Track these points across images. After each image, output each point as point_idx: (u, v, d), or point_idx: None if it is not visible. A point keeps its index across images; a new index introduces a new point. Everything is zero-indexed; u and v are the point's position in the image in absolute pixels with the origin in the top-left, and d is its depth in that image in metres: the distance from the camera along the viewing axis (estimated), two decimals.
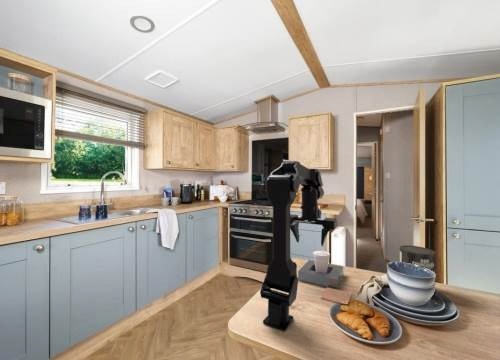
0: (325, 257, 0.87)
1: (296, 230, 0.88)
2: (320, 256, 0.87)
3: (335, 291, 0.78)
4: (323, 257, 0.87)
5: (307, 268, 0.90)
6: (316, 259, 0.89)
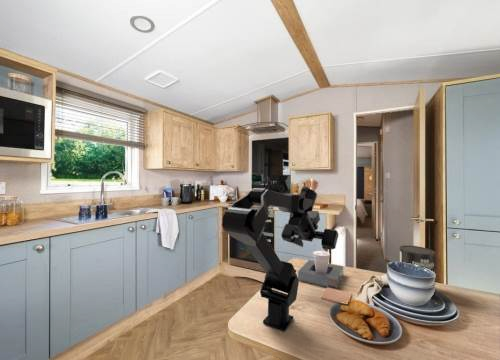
0: (325, 257, 0.87)
1: (297, 241, 0.83)
2: (320, 256, 0.87)
3: (335, 291, 0.78)
4: (323, 257, 0.87)
5: (307, 268, 0.90)
6: (316, 259, 0.89)
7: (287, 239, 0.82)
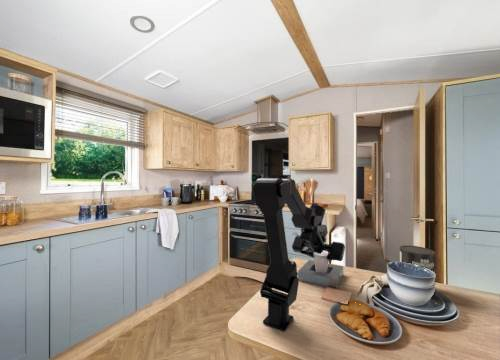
0: (325, 257, 0.87)
1: (309, 253, 0.90)
2: (320, 256, 0.87)
3: (335, 291, 0.78)
4: (323, 257, 0.87)
5: (307, 268, 0.90)
6: (316, 259, 0.89)
7: (297, 250, 0.89)
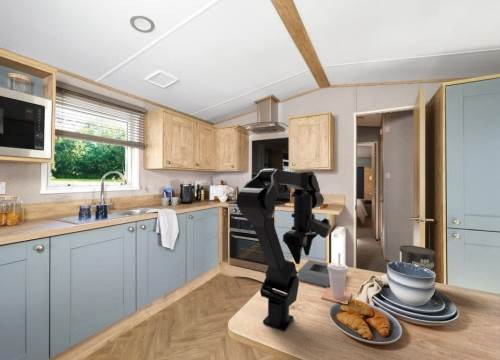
0: (339, 272, 0.72)
1: None
2: (333, 270, 0.73)
3: None
4: (336, 271, 0.73)
5: (307, 268, 0.90)
6: (329, 272, 0.75)
7: None
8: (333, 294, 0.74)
